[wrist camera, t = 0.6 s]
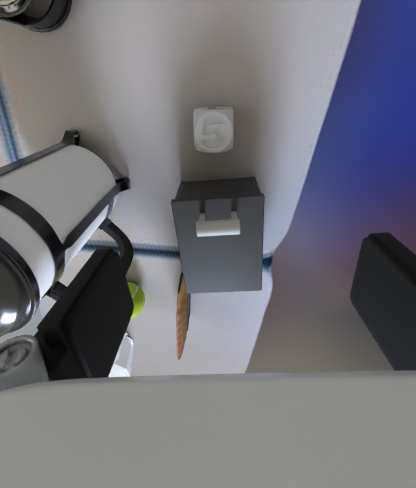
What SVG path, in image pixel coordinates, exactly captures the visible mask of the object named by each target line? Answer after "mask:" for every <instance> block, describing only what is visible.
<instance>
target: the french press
mask: <svg viewBox="0 0 416 488" xmlns="http://www.w3.org/2000/svg"><path fill="white" fill-rule="evenodd" d="M32 1H33V0H0V16H1V17H0V20H3V21H7V22H11V23H14V24H18V25H21V26H23V27H25V28H27V29H30V30H32V31H37V32H50V31H52V30H55V29H57V28H58V27H59V26H61V25H62V24H63V23H64V21H65V20H66V19H67V16H68V14H69V12H70V8H71V4H72V0H52V3H51V5H50V7H49V10H48V11H47V12H46V14H45V15H44V16H43V17H41V18H33V17H29V16H27V15H25V14H23V13H22V12H23V11H24V10H26V9H27V8H28V7H29V5H30V4H31V2H32Z"/></svg>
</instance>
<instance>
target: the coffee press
mask: <svg viewBox="0 0 416 488" xmlns="http://www.w3.org/2000/svg"><path fill="white" fill-rule="evenodd" d="M79 140H80V137H79V133H78V132H77V131H70V130H66V131H65V134H64V137H63V140H62V142H60V143H59V144H56V145H54V146H52V147H49V148H47V149H44V150H42V151H39V152H37V153H35V154H32V155H30V156H27V157H25V158H22V159H20V160H18V161H15V162H13V163H10V164H8V165H6V166H3V167H1V168H0V337H1V336H3V335H5V334H7V333H10V332H13V331H16V330H18V329H20V328H22V327H23V326H24V325H26V324H27V323H28V322H29V321H30V320H31V318H32V317H33V316H34V314H35V313H36V311H37V309H38V306H39V302H40V299H42V298H43V297H44V296H45V295H47V296H49V297H51V298H53V299H54V300H56V301H57V300H58V299H59V298H60V296H61V295H62V294H63V292H64V291H65V290H66V288H67V287H66V286H65V285H63V284H62V283H60V282H59V279H60V278H61V277H62V275H63V272H64V269H65V268H66V267H67V265H68V264H69V263H70V262H71V260H72V259H73V258H74V257H75V255H76V254H77V253H78V252H79V250H80V249H81V248H82V247H83V245H84V244H85V243H86V242H87V240H88V239H89V238H90V237H91V235H92V234H93V233H94V232H95V230H96V229H98V228H100V229H101V230H104V231H105V232H106V233H107V234H109V235H110V236H111V237H112V238H113V239H114V240H115V241H116V242H117V244H118V246H119V248H120V259H121V263H122V266H123V269H124V273H125V276H126V274H127V271H128V269H129V267H130V265H131V262H132V259H133V247H132V244H131V242H130V240H129V239H128V237H127V236H126V235H125V234H124V233H123V232H122V231H121V230H120V229H119V228H118V227H117V226H116V225H115V224H114V223H112V222H111V220H110V219H109V218H108V217H109V215H110V213H111V211H112V208H113V207H114V205H115V202H116V198H117V194H118V193H119V192H121V191H124V190H127V189H130V181H129V179H128V178H122V179H116V180H115V179H114V177H113V175H112V173H111V171H110V169H109V168H108V166H107V165H106V164H105V163H104V162H103V161H102V160H101V159H100V158H99V157H98V156H97V155H95V154H94V153H92V152H91V151H89V150H87V149H85V148H82V147H79ZM106 216H107V217H106ZM105 218H106V219H105ZM52 284H53V285H52ZM51 285H52V286H51Z"/></svg>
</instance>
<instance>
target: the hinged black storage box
mask: <svg viewBox="0 0 416 488" xmlns="http://www.w3.org/2000/svg"><path fill="white" fill-rule="evenodd" d="M247 194H261V192H260V189H259V187H258V184H257V181H256V179H255V177H250V178H236V179H222V180H208V181H194V182H181V184H180V187H179V189H178V192H177V195H176V198H175V199H187V198H202V197H217V196H232V195H247Z"/></svg>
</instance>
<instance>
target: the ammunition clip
mask: <svg viewBox="0 0 416 488" xmlns="http://www.w3.org/2000/svg"><path fill="white" fill-rule="evenodd" d="M189 316H190V293H186V288H185V282H184V276H183V273H181V277H180V283H179V288H178V300H177V313H176V328H177V357H178V359H180V358H181V356H182V353H183V349H184V344H185V340H186V335H187V330H188V325H189Z"/></svg>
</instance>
